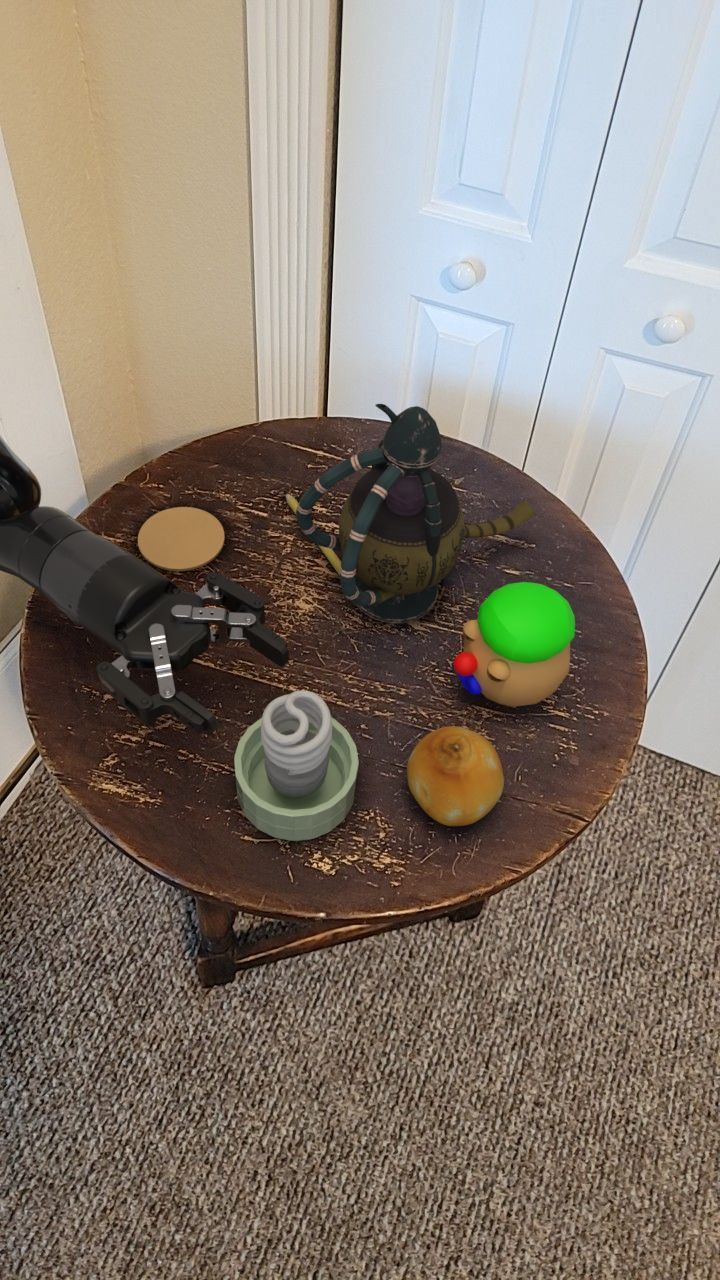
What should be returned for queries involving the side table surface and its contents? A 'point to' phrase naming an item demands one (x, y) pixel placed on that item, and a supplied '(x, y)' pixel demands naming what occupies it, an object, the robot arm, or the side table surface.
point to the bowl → (291, 813)
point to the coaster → (181, 539)
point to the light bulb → (296, 743)
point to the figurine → (517, 645)
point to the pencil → (327, 551)
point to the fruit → (455, 775)
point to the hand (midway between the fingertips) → (251, 691)
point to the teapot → (398, 521)
